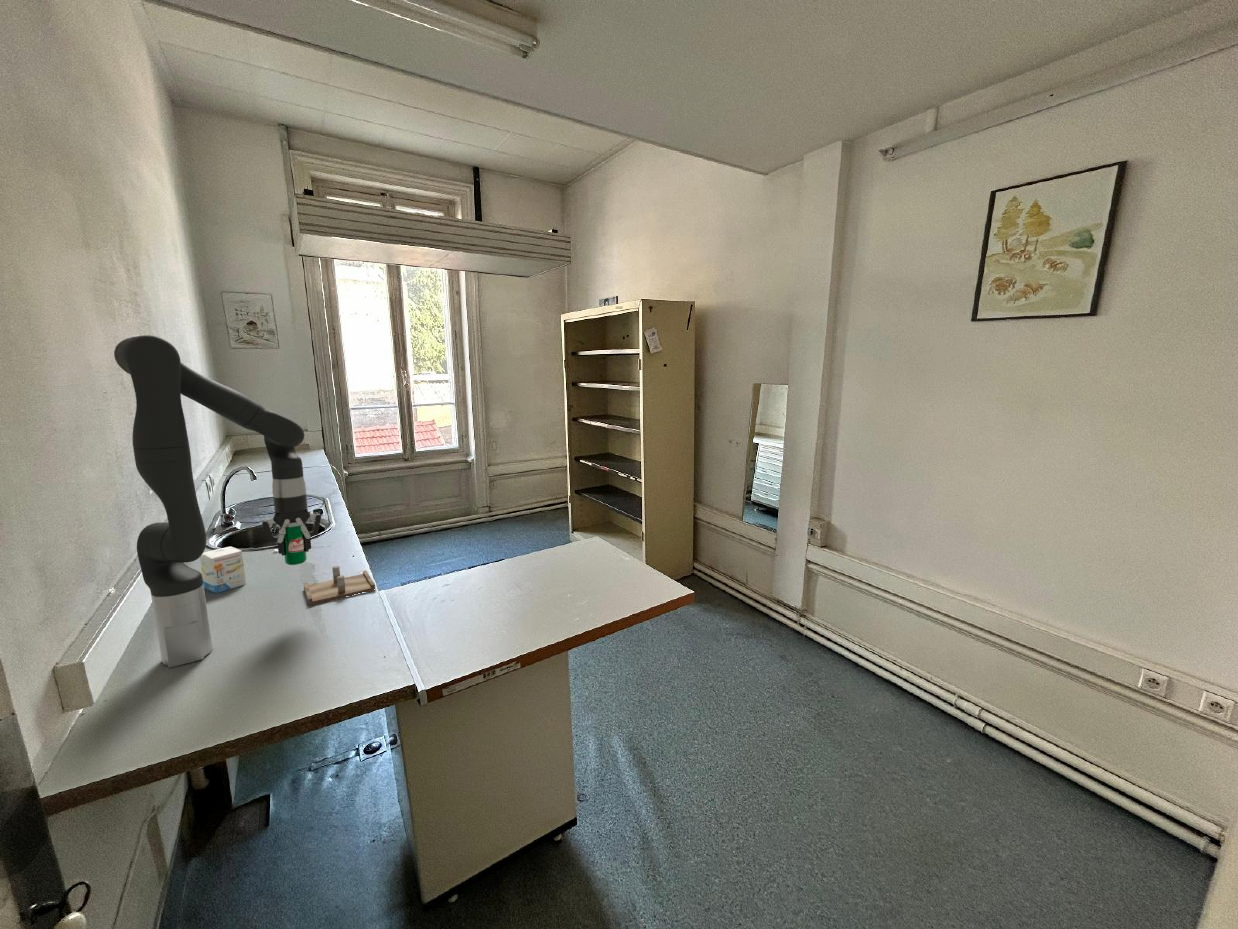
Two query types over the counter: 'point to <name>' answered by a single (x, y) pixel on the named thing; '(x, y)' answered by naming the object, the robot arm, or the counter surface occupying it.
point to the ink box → (222, 569)
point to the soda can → (294, 544)
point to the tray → (332, 589)
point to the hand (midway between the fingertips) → (295, 552)
